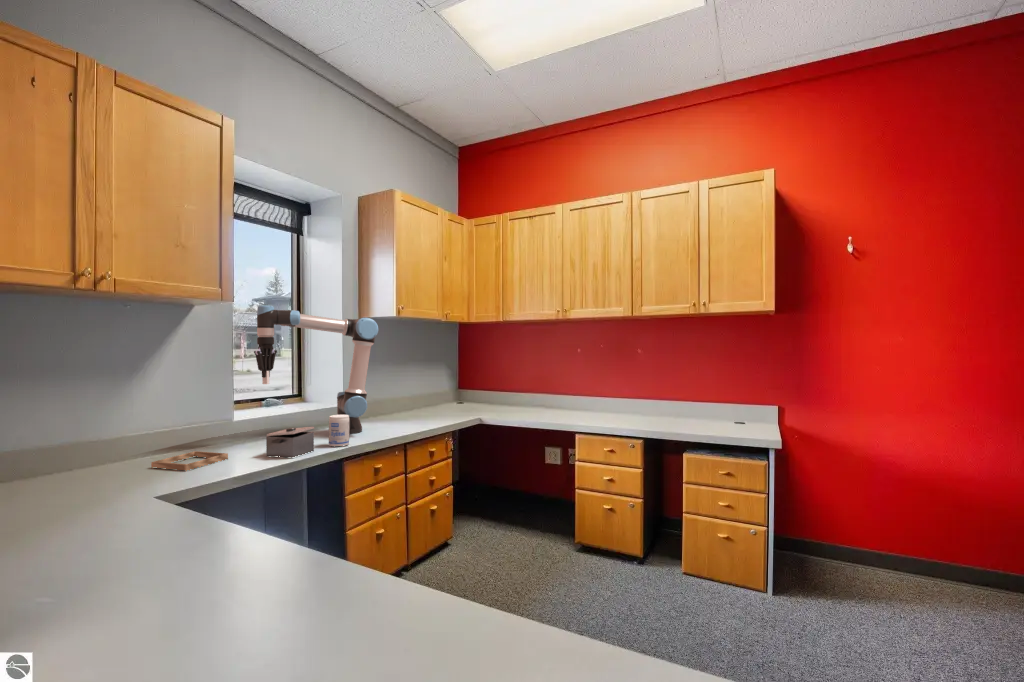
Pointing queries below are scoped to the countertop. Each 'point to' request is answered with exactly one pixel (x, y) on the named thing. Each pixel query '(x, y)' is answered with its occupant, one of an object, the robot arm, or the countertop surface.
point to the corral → (210, 459)
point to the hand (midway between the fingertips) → (265, 383)
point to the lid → (290, 431)
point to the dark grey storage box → (290, 444)
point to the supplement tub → (338, 430)
